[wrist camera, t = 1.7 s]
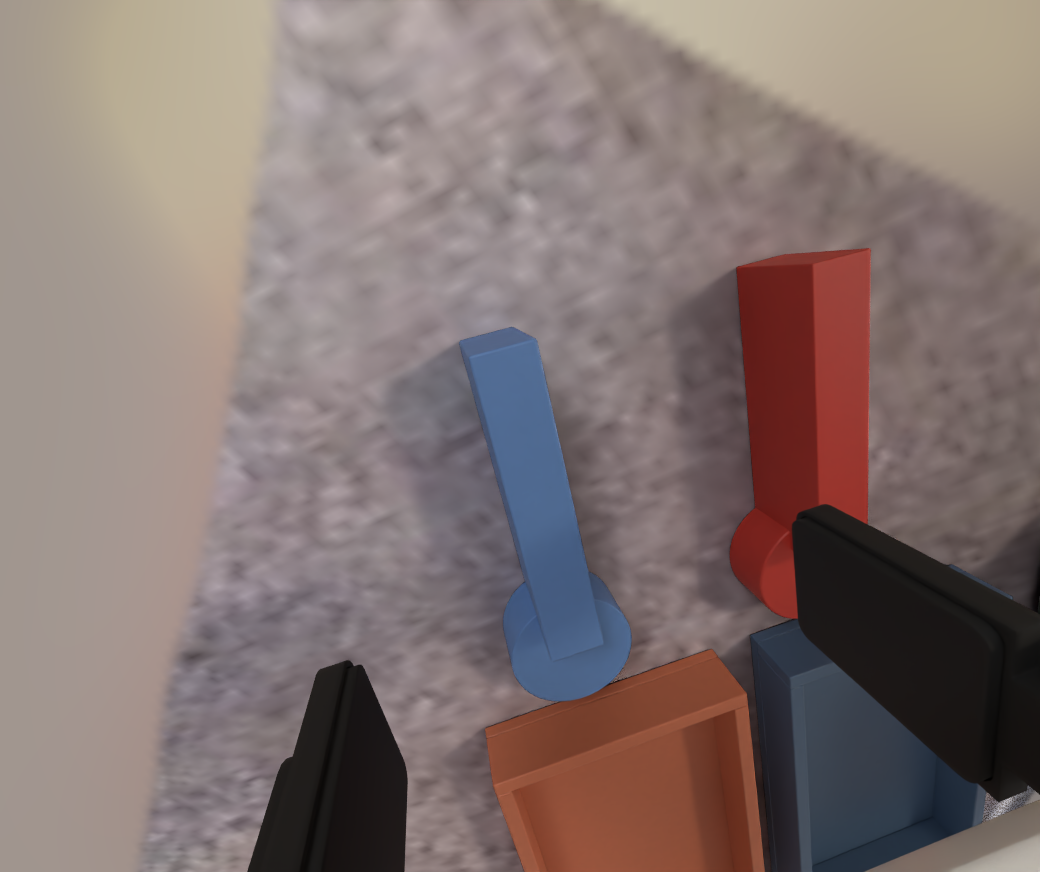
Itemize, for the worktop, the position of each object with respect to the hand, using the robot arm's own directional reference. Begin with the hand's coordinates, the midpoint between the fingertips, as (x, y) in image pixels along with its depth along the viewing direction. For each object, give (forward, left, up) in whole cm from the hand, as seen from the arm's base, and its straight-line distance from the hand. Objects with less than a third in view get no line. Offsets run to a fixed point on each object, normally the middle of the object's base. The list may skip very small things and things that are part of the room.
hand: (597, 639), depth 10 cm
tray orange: (+18, +1, -8) cm, 20 cm away
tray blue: (+18, +13, -8) cm, 24 cm away
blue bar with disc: (+1, 0, -8) cm, 8 cm away
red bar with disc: (+1, +9, -8) cm, 12 cm away
